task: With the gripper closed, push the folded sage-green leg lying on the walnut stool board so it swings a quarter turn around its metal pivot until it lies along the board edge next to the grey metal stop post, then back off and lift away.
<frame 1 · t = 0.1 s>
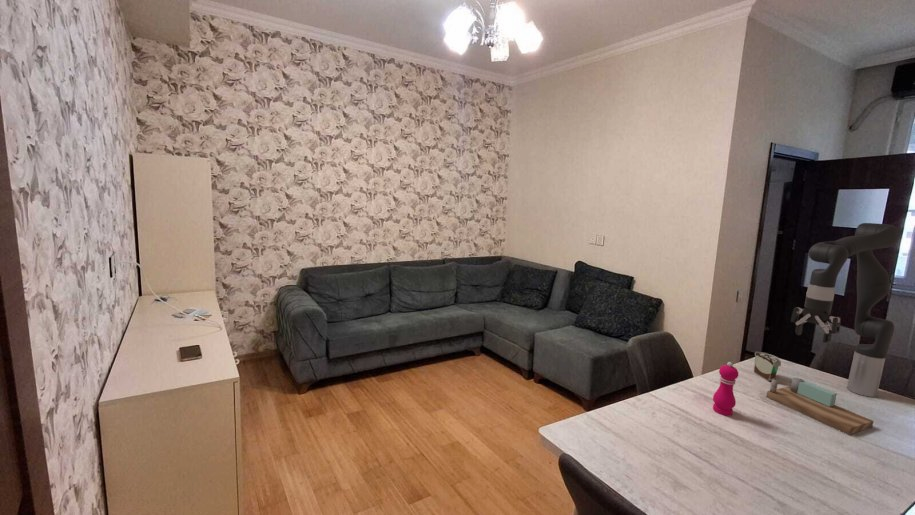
hand: (811, 338, 151), 29 cm above the table, fingers open, 8 cm apart
stool board: (815, 411, 154), on the table
hinged leg: (811, 391, 159), point 5 cm above the table, hinge at 90.0°
pepper mill: (722, 411, 152), on the table
food container: (767, 377, 183), on the table
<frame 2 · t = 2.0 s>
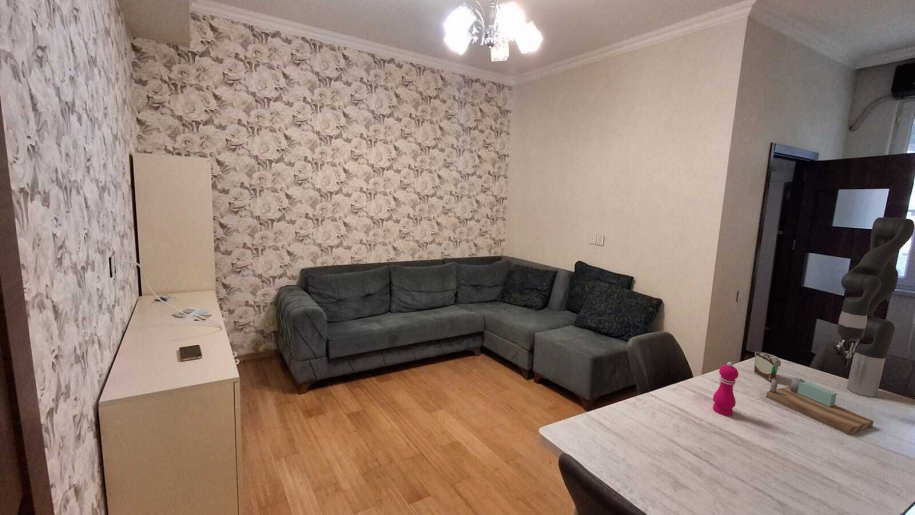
hand: (842, 366, 157), 17 cm above the table, fingers closed
nothing on the table moved.
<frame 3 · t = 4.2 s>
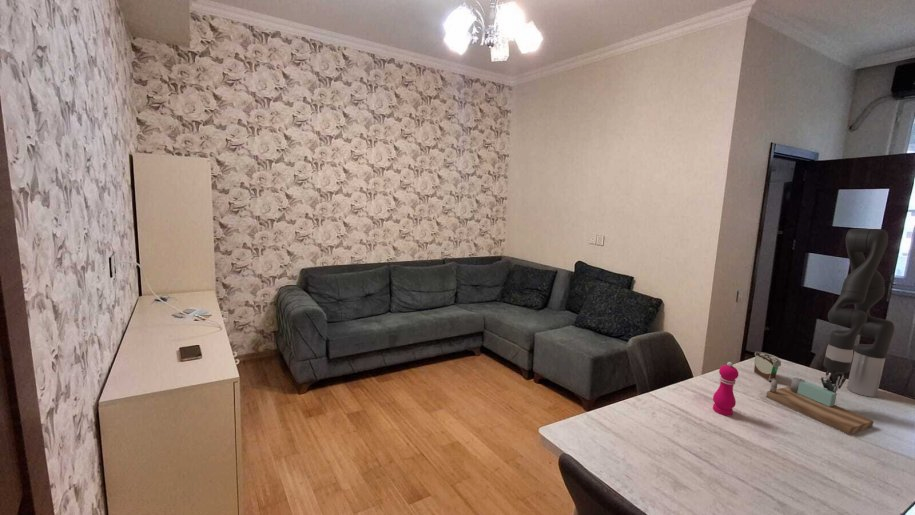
hand: (829, 398, 157), 4 cm above the table, fingers closed
hinged leg: (811, 391, 159), point 5 cm above the table, hinge at 89.9°, touching gripper
everything else where it was.
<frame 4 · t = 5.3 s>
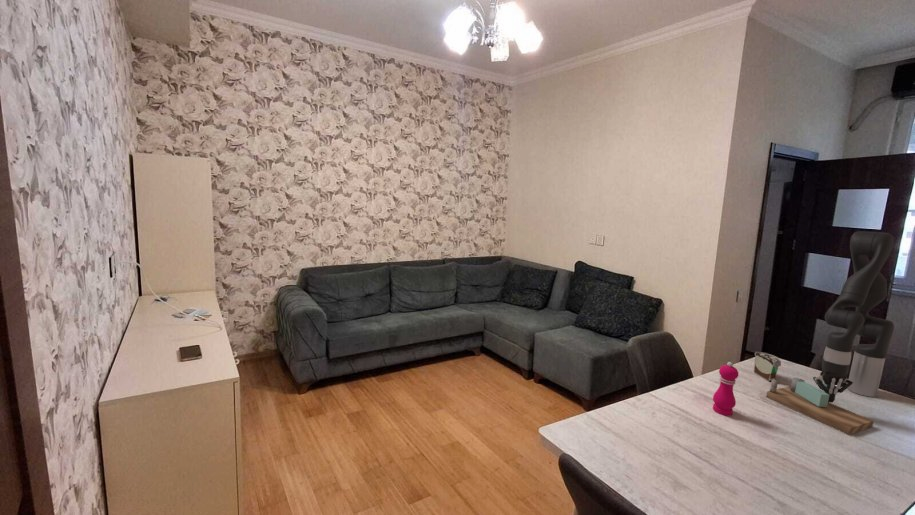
hand: (828, 401, 155), 4 cm above the table, fingers closed
hinged leg: (808, 391, 159), point 5 cm above the table, hinge at 69.2°, touching gripper
everything else where it was.
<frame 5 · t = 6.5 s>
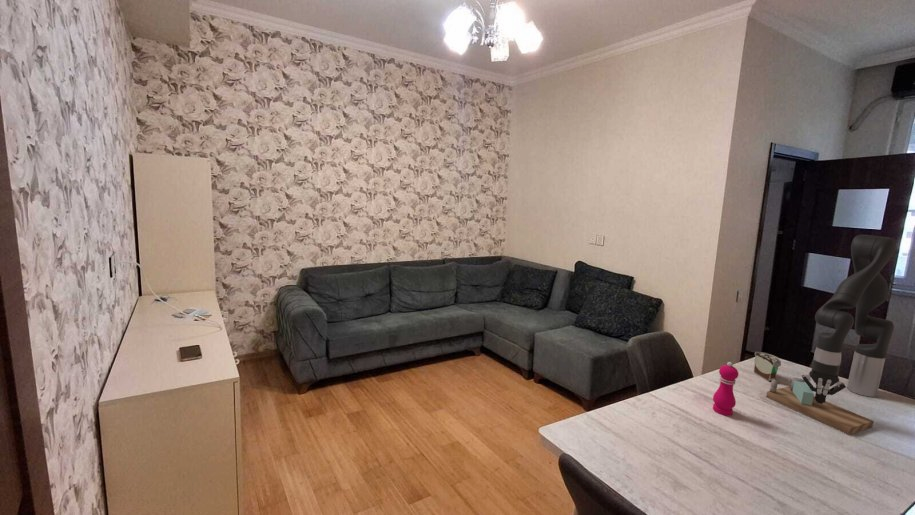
hand: (819, 402, 154), 4 cm above the table, fingers closed
hinged leg: (801, 390, 159), point 5 cm above the table, hinge at 42.9°, touching gripper
everything else where it was.
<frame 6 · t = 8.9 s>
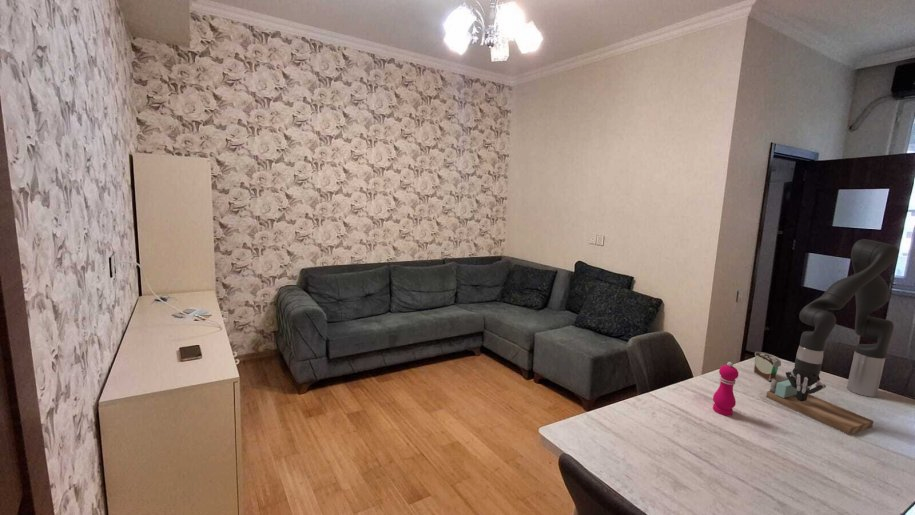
hand: (800, 400, 155), 4 cm above the table, fingers closed
hinged leg: (790, 387, 162), point 5 cm above the table, hinge at 2.6°
everything else where it was.
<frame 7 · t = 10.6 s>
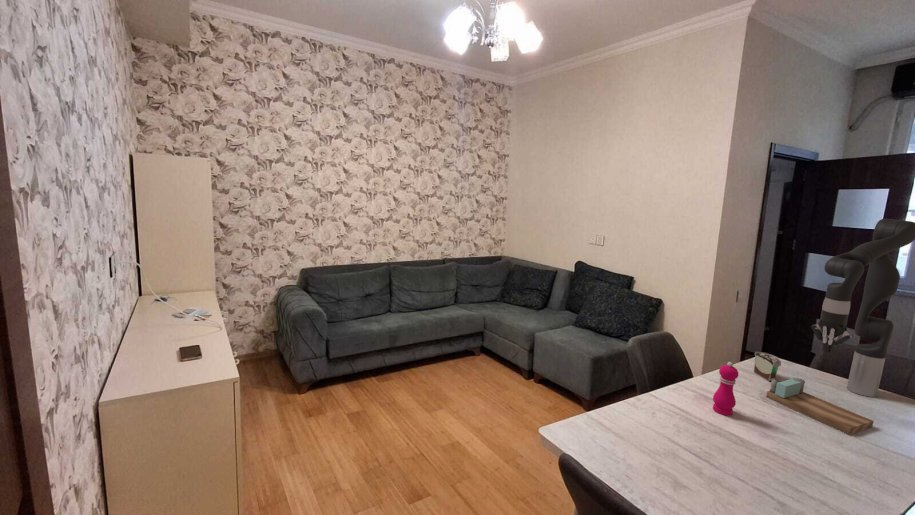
hand: (826, 352, 155), 23 cm above the table, fingers closed
nothing on the table moved.
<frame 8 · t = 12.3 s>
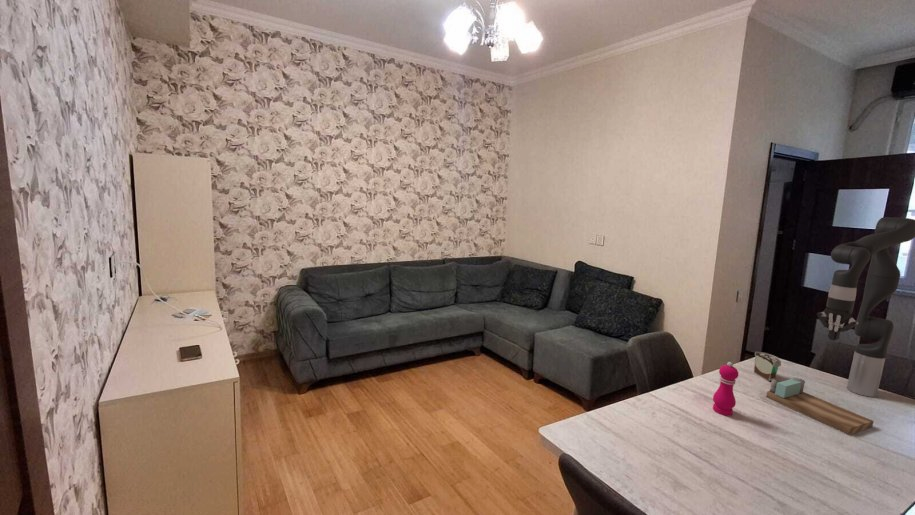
hand: (832, 339, 156), 27 cm above the table, fingers closed
nothing on the table moved.
at the end: hinged leg at +3° (first picture: +90°) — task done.
